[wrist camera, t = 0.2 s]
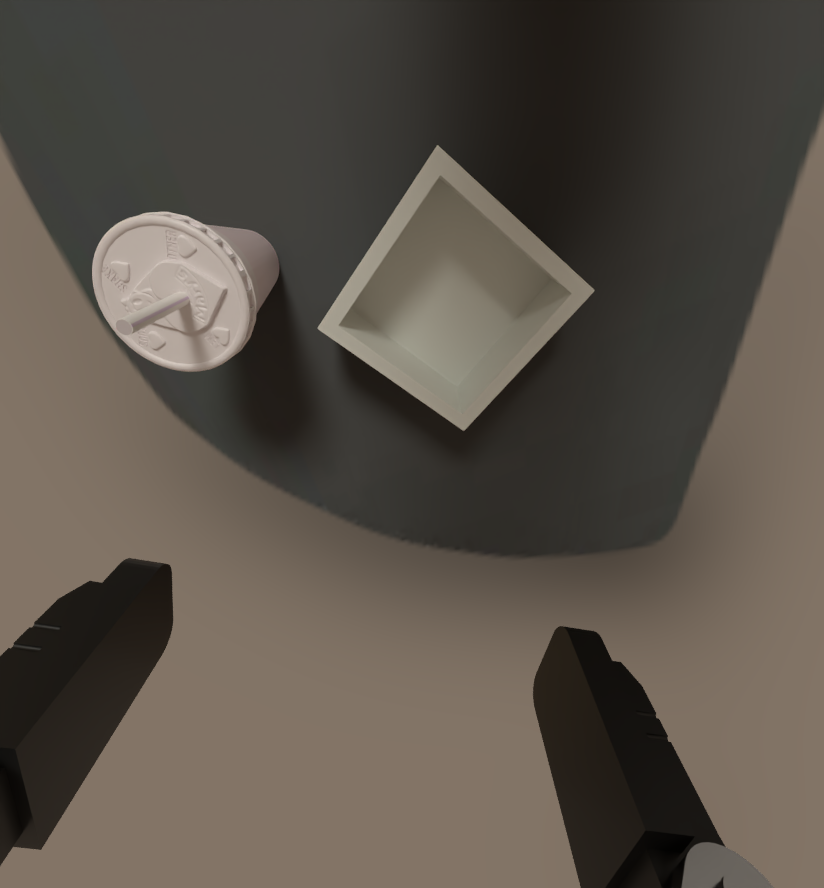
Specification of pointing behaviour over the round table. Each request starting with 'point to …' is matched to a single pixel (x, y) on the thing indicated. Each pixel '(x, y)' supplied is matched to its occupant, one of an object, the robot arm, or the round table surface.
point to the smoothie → (182, 287)
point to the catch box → (453, 295)
